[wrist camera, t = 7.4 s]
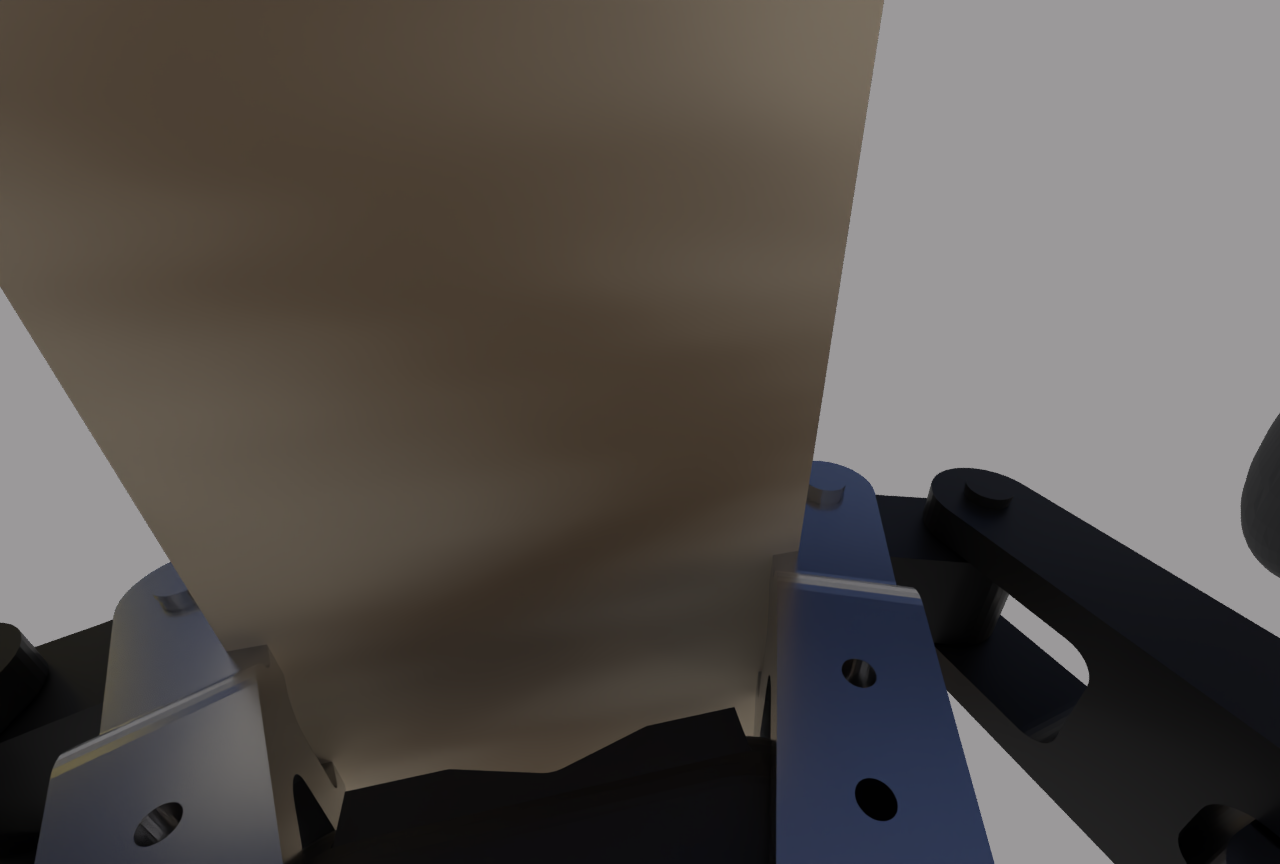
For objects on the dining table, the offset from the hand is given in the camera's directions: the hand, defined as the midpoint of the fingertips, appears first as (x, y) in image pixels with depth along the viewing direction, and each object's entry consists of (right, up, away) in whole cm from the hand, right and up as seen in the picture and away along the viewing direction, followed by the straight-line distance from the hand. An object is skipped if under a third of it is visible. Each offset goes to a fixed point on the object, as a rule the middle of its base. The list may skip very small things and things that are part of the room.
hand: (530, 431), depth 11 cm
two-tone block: (0, +4, -6) cm, 7 cm away
